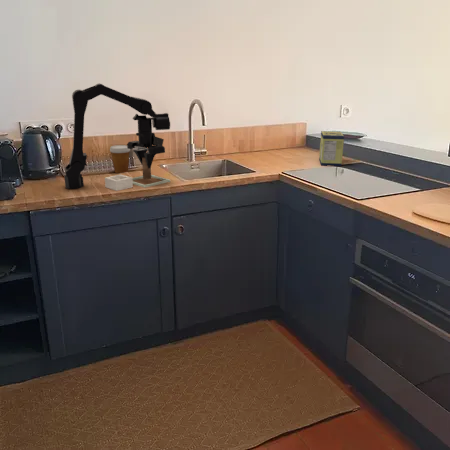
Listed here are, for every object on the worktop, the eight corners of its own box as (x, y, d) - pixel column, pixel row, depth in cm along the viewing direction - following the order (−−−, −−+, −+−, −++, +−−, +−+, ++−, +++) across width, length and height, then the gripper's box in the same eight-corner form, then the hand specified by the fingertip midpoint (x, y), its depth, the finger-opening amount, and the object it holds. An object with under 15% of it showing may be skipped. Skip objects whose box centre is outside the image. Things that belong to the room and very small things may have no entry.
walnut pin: (146, 179, 202) (145, 159, 199) (141, 178, 204) (140, 157, 201) (152, 178, 205) (152, 158, 202) (147, 177, 207) (146, 156, 204)
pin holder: (116, 193, 191) (116, 181, 189) (105, 189, 196) (104, 177, 194) (133, 189, 197) (132, 177, 195) (121, 185, 202) (120, 174, 200)
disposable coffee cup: (127, 174, 220) (125, 149, 216) (107, 173, 222) (106, 148, 218) (134, 170, 229) (133, 145, 225) (116, 169, 231) (114, 144, 227)
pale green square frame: (144, 189, 196) (144, 185, 195) (124, 183, 205) (124, 179, 204) (170, 183, 206) (170, 179, 205) (150, 178, 215) (149, 174, 214)
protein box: (338, 160, 256) (340, 131, 250) (341, 166, 241) (344, 136, 236) (318, 159, 257) (320, 130, 251) (320, 166, 242) (323, 135, 237)
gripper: (174, 131, 197) (175, 167, 203) (146, 126, 209) (147, 161, 214) (153, 133, 190) (155, 172, 195) (125, 128, 201) (127, 164, 207)
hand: (146, 167), depth 203 cm, fingers closed on walnut pin, 3 cm apart
